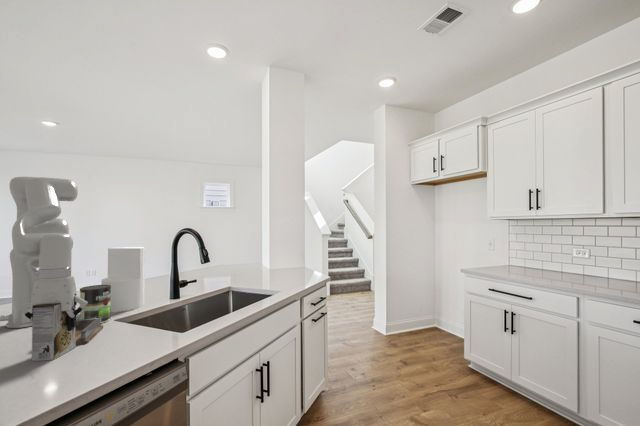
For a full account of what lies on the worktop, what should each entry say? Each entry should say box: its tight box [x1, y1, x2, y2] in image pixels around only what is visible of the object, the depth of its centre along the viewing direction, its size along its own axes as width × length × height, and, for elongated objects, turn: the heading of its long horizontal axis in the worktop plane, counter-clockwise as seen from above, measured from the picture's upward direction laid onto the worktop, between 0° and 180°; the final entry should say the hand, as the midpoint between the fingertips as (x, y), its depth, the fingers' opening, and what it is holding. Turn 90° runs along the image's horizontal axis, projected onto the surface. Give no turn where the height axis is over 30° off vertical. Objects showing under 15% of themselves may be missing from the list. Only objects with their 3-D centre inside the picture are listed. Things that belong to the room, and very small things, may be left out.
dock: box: [76, 318, 104, 346], centre depth 106 cm, size 13×16×4 cm
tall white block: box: [100, 246, 146, 313], centre depth 145 cm, size 17×17×28 cm
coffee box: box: [31, 303, 77, 362], centre depth 93 cm, size 9×6×16 cm
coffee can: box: [79, 284, 112, 325], centre depth 123 cm, size 10×10×14 cm
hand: (54, 331), depth 93 cm, fingers open, 7 cm apart
